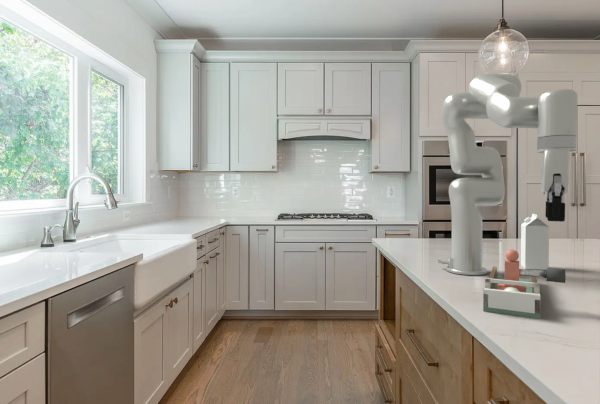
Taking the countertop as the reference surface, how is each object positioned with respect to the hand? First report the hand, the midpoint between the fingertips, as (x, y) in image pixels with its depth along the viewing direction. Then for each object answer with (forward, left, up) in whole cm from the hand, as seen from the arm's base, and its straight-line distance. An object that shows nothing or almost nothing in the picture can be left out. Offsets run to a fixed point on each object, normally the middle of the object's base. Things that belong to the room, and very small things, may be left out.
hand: (554, 219), depth 90 cm
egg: (-8, -6, -18) cm, 20 cm away
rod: (-5, -2, -19) cm, 20 cm away
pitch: (-8, +7, -21) cm, 23 cm away
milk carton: (-3, +51, -21) cm, 55 cm away
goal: (-8, -8, -20) cm, 23 cm away
